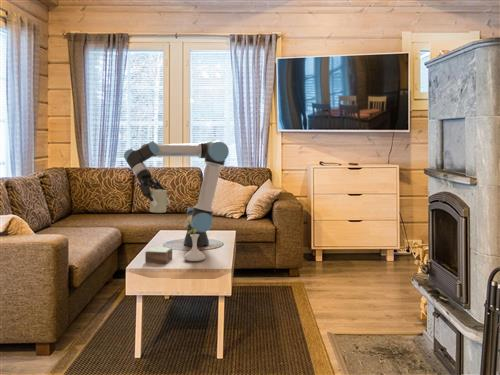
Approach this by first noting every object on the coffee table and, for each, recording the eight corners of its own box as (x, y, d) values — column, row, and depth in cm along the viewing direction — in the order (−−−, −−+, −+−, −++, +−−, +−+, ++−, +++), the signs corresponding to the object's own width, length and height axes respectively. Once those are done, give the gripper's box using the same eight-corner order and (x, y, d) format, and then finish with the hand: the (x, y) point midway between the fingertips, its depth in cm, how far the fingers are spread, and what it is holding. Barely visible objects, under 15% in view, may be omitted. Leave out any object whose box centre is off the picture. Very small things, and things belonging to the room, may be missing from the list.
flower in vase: (194, 256, 274) (194, 211, 272) (209, 260, 267) (210, 214, 265) (177, 261, 264) (177, 214, 262) (192, 264, 257) (192, 216, 255)
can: (157, 213, 266) (158, 190, 265) (145, 211, 271) (146, 189, 270) (170, 211, 273) (170, 189, 272) (158, 209, 279) (158, 188, 277)
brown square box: (152, 258, 270) (152, 247, 270) (172, 259, 269) (172, 247, 268) (145, 263, 259) (145, 251, 259) (165, 264, 258) (165, 252, 257)
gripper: (152, 176, 288) (172, 207, 281) (123, 178, 270) (144, 210, 263) (159, 168, 284) (179, 198, 277) (131, 169, 266) (152, 202, 259)
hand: (162, 204), depth 270 cm, fingers closed on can, 9 cm apart
